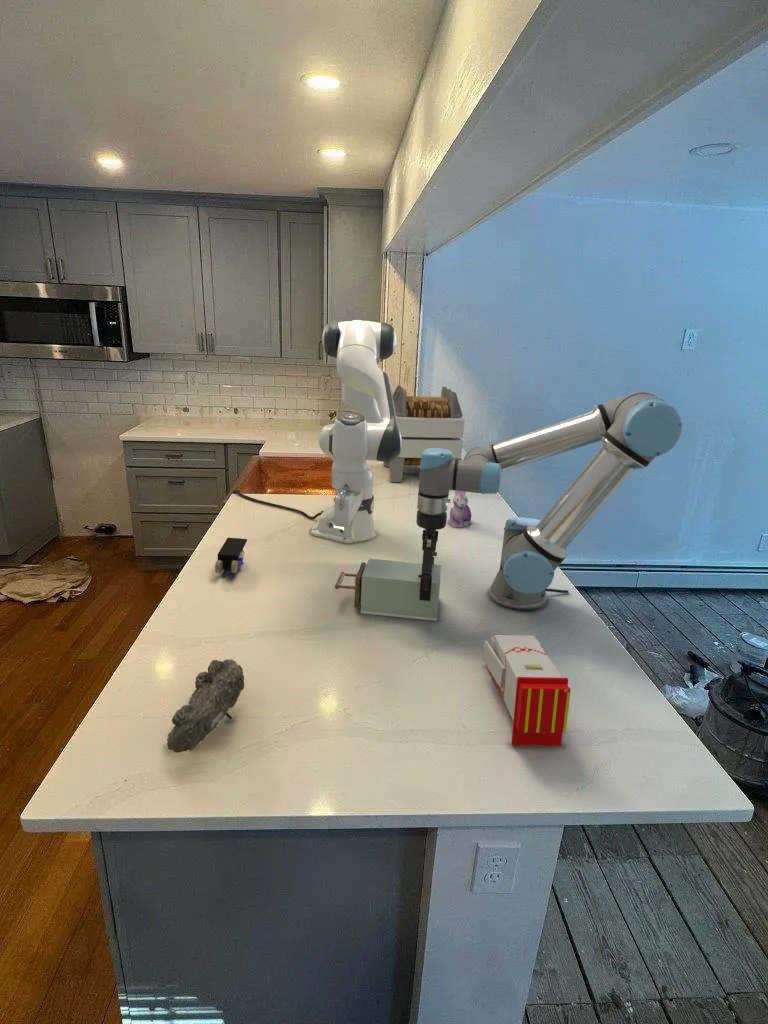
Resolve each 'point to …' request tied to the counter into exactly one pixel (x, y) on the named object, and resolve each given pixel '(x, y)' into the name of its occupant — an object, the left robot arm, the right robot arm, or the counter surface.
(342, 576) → the drawer
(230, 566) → the figurine character
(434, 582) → the cabinet
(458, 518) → the figurine
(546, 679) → the toy
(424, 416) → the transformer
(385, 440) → the left robot arm
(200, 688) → the fossil
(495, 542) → the counter surface
